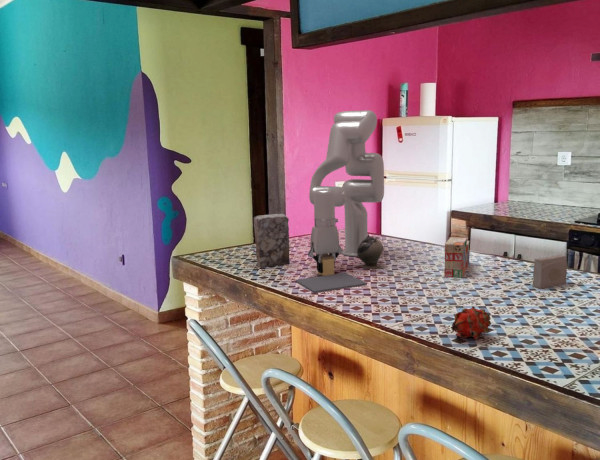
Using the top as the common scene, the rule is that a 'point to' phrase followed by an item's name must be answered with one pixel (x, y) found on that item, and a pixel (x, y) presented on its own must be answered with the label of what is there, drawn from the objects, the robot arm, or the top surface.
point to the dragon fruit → (471, 323)
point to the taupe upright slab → (549, 272)
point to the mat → (330, 282)
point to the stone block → (271, 239)
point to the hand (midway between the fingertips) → (325, 271)
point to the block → (327, 264)
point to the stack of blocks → (456, 257)
